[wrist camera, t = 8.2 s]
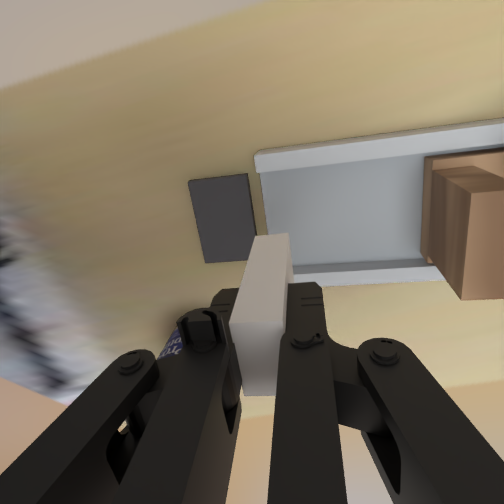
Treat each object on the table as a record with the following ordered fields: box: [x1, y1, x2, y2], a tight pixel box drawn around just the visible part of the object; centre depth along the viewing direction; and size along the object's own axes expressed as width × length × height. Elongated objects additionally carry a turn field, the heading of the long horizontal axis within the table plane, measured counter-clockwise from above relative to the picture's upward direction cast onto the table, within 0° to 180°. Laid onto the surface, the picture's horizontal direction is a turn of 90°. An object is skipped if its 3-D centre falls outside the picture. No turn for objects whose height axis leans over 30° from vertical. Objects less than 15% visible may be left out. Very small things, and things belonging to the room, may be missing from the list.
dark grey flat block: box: [188, 173, 257, 263], centre depth 24 cm, size 4×6×1 cm, turn 8°
